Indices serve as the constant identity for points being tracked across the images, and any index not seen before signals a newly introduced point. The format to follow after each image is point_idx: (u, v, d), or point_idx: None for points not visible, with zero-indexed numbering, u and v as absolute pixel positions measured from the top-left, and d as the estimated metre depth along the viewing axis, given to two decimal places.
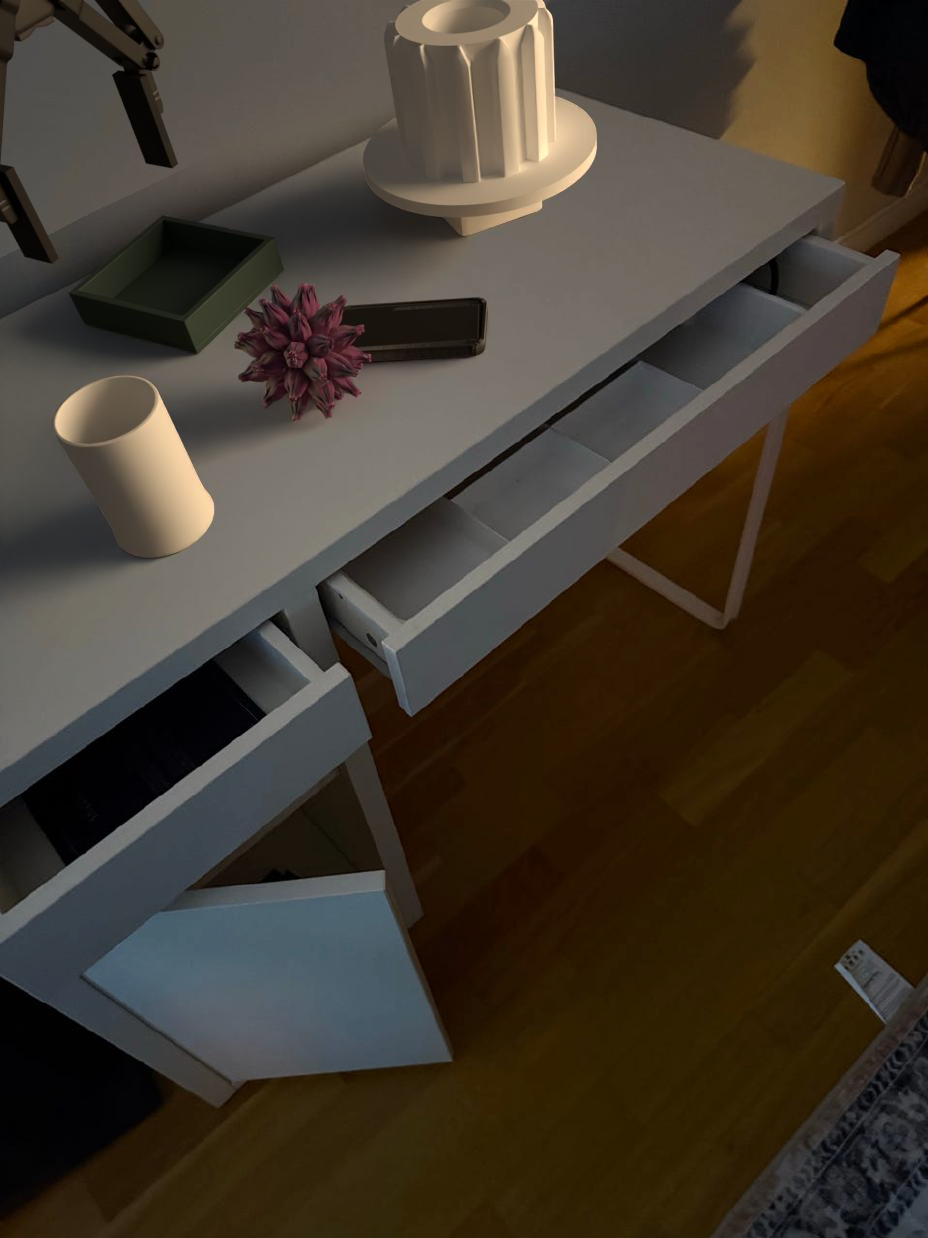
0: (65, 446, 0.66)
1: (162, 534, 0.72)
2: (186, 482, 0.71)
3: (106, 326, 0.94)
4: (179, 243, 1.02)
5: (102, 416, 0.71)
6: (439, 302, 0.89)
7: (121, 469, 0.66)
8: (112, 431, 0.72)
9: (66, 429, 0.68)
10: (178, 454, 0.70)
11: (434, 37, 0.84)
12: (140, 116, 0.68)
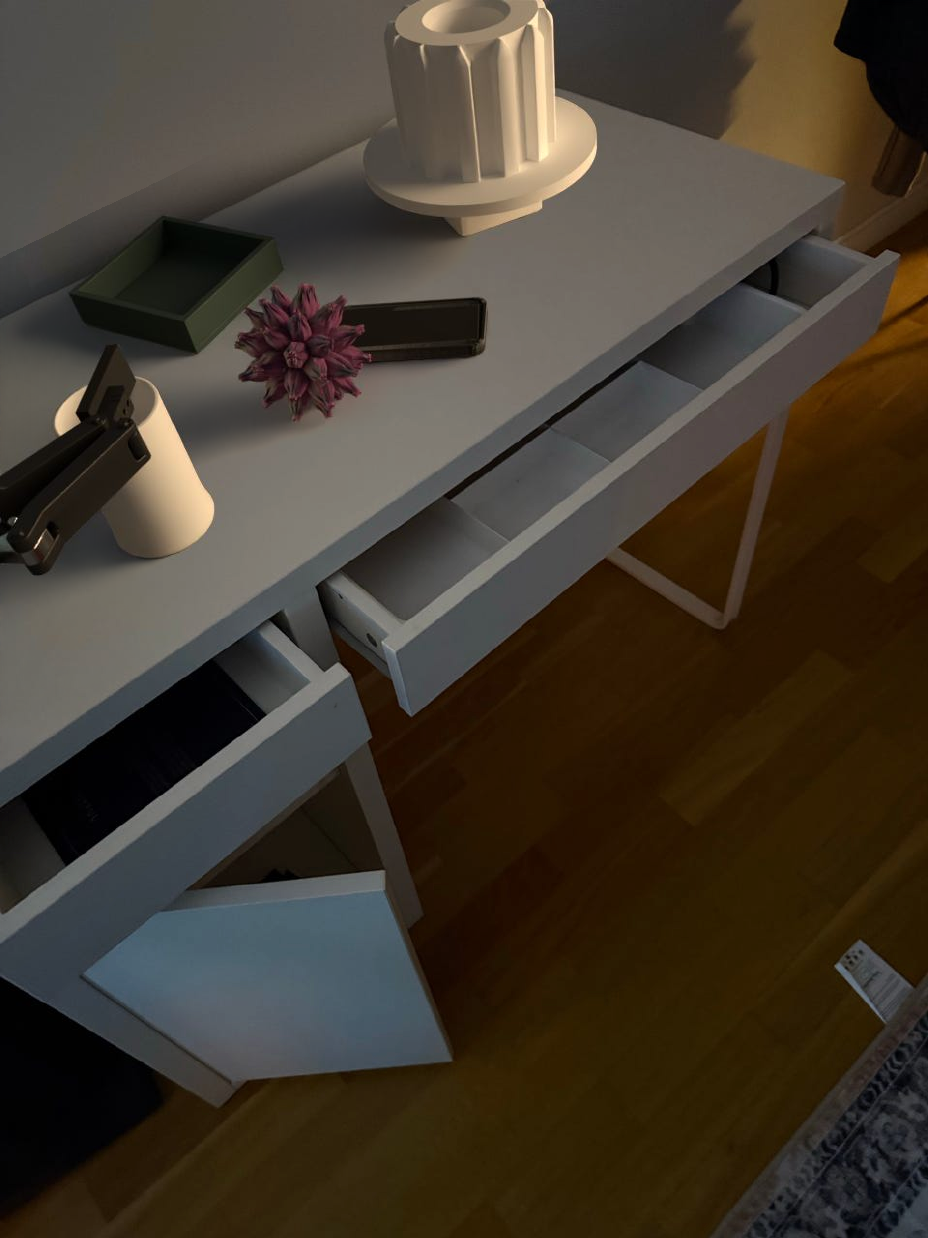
0: None
1: (162, 534, 0.72)
2: (186, 482, 0.71)
3: (106, 326, 0.94)
4: (179, 243, 1.02)
5: None
6: (439, 302, 0.89)
7: None
8: None
9: (66, 429, 0.68)
10: (178, 454, 0.70)
11: (434, 37, 0.84)
12: None
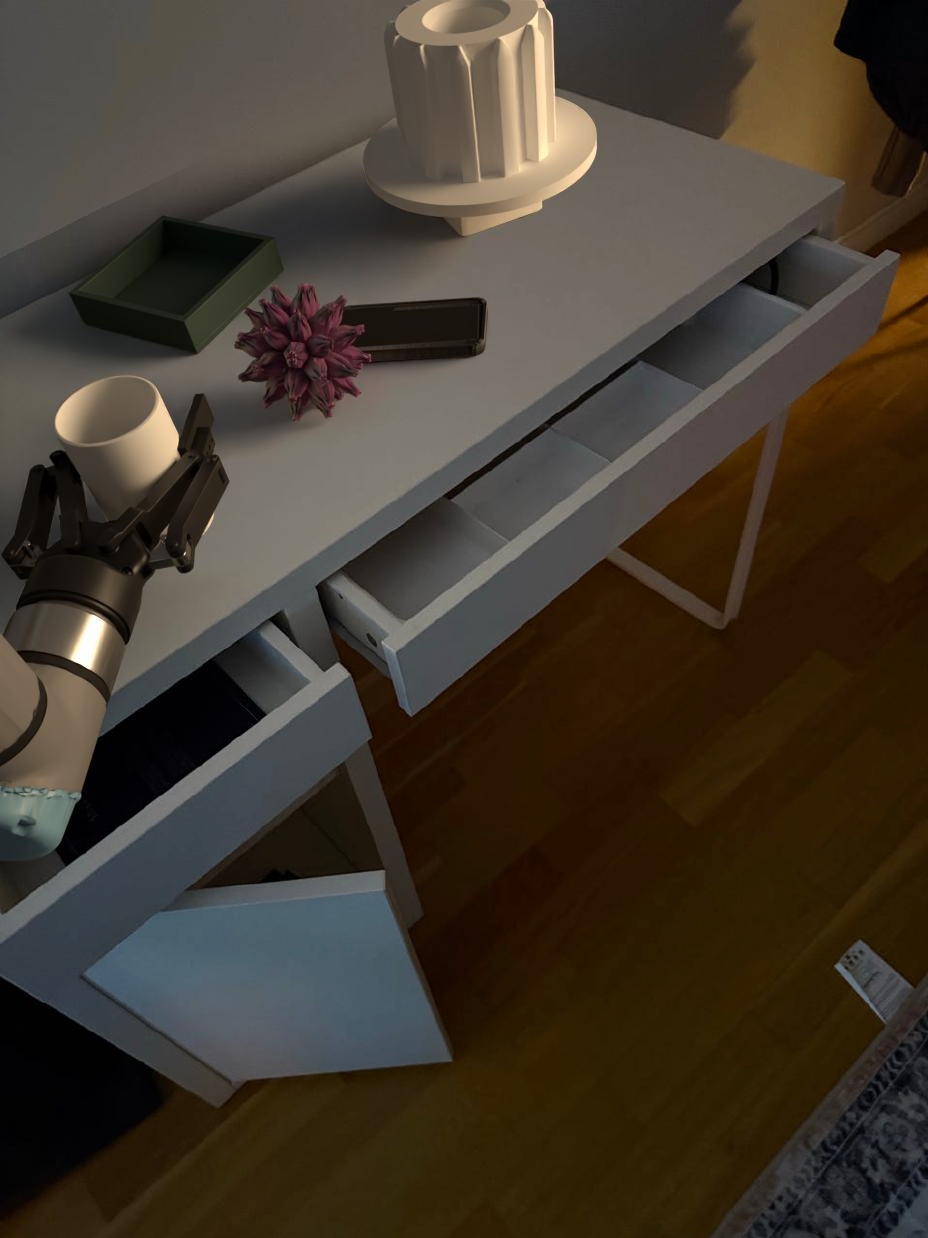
0: (65, 446, 0.66)
1: (162, 534, 0.72)
2: None
3: (106, 326, 0.94)
4: (179, 243, 1.02)
5: (102, 416, 0.71)
6: (439, 302, 0.89)
7: (121, 469, 0.66)
8: (112, 431, 0.72)
9: (66, 429, 0.68)
10: (178, 454, 0.70)
11: (434, 37, 0.84)
12: None
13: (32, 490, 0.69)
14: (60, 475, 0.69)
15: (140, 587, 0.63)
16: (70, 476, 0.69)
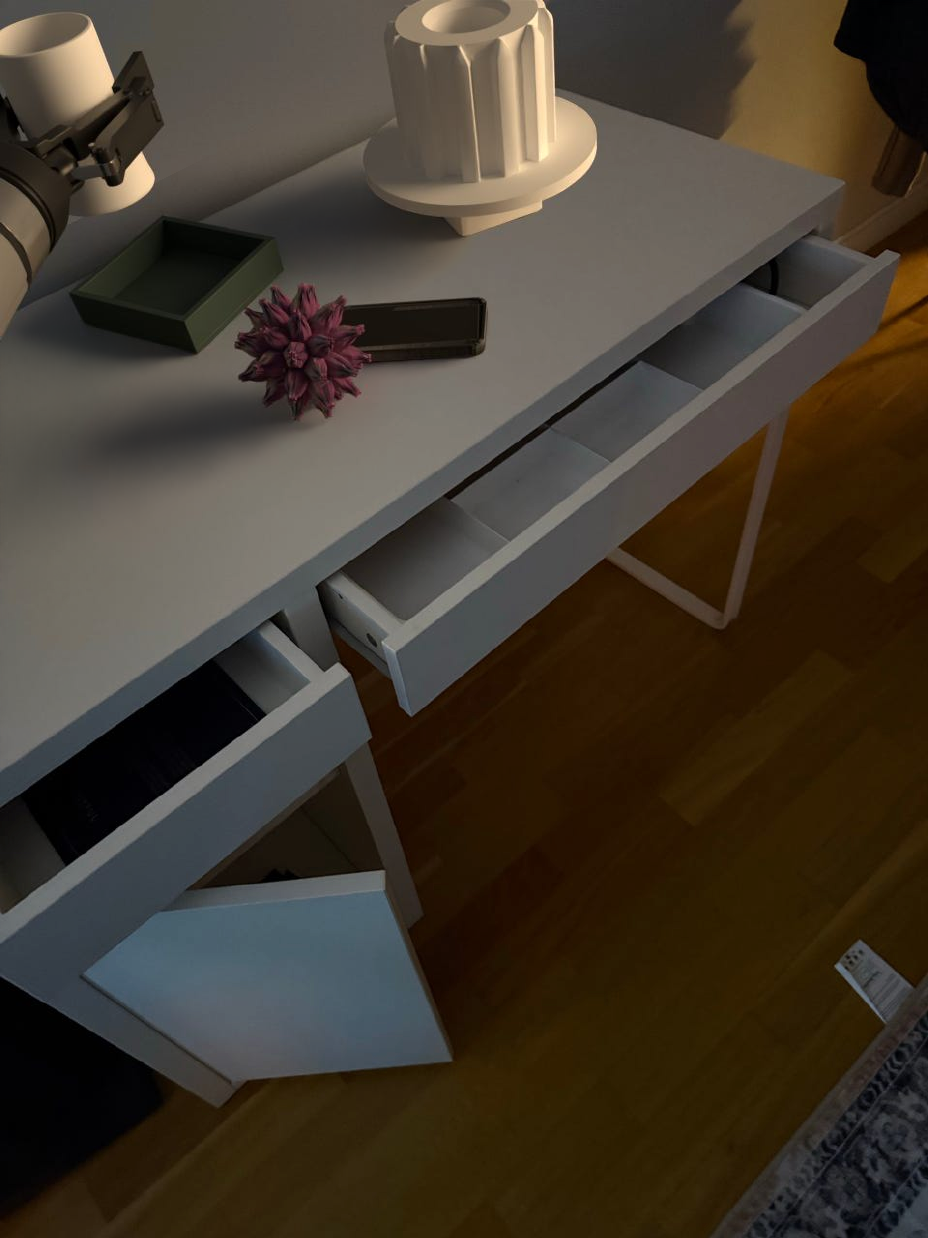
0: None
1: (99, 185, 0.72)
2: None
3: (106, 326, 0.94)
4: (179, 243, 1.02)
5: None
6: (439, 302, 0.89)
7: (53, 90, 0.67)
8: None
9: None
10: (113, 94, 0.70)
11: (434, 37, 0.84)
12: None
13: None
14: None
15: (67, 191, 0.64)
16: (4, 112, 0.69)
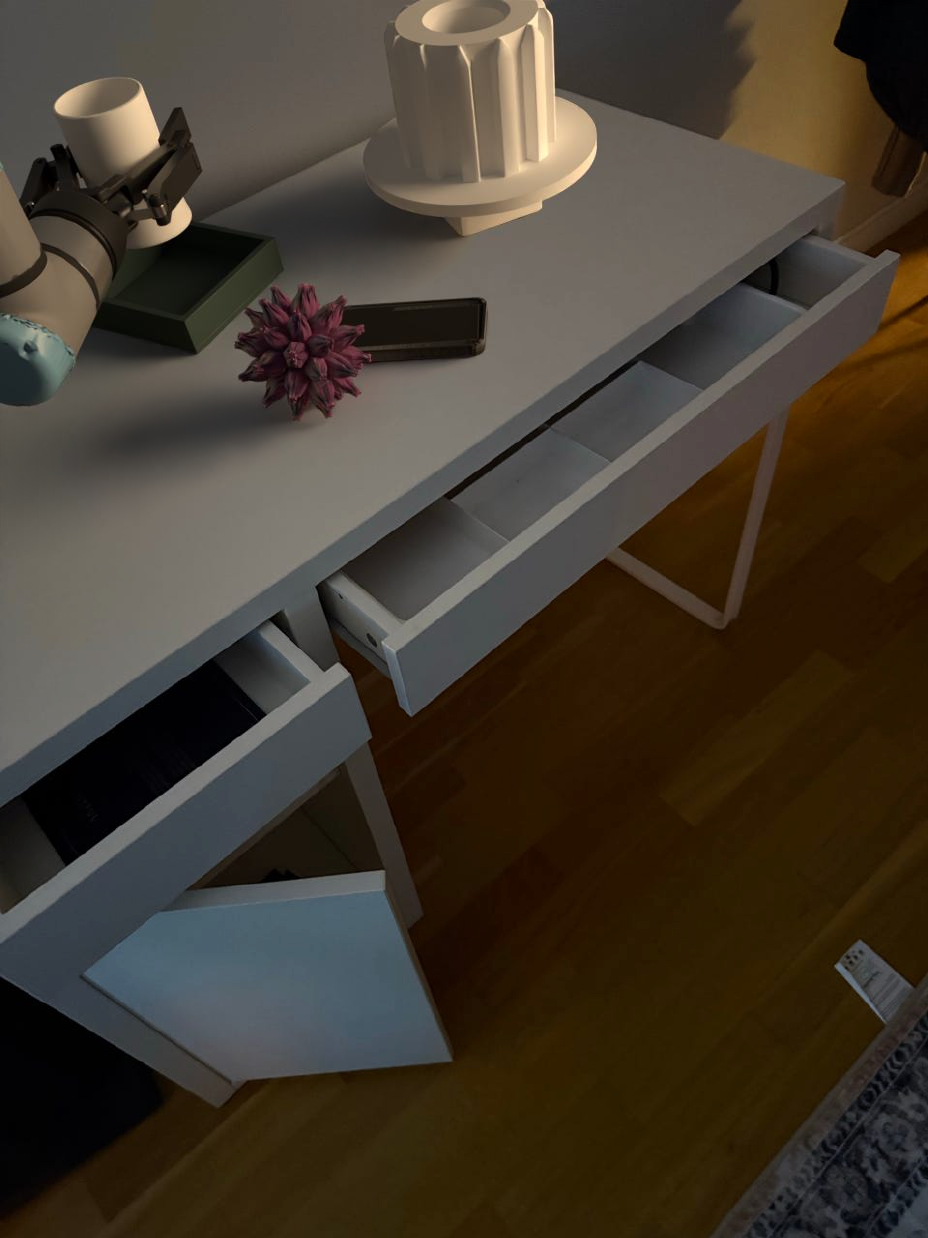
0: (63, 122, 0.78)
1: (146, 222, 0.85)
2: None
3: (106, 326, 0.94)
4: (179, 243, 1.02)
5: None
6: (439, 302, 0.89)
7: (110, 145, 0.79)
8: None
9: None
10: (159, 145, 0.82)
11: (434, 37, 0.84)
12: None
13: (35, 172, 0.81)
14: (59, 162, 0.82)
15: (125, 230, 0.76)
16: (67, 162, 0.82)
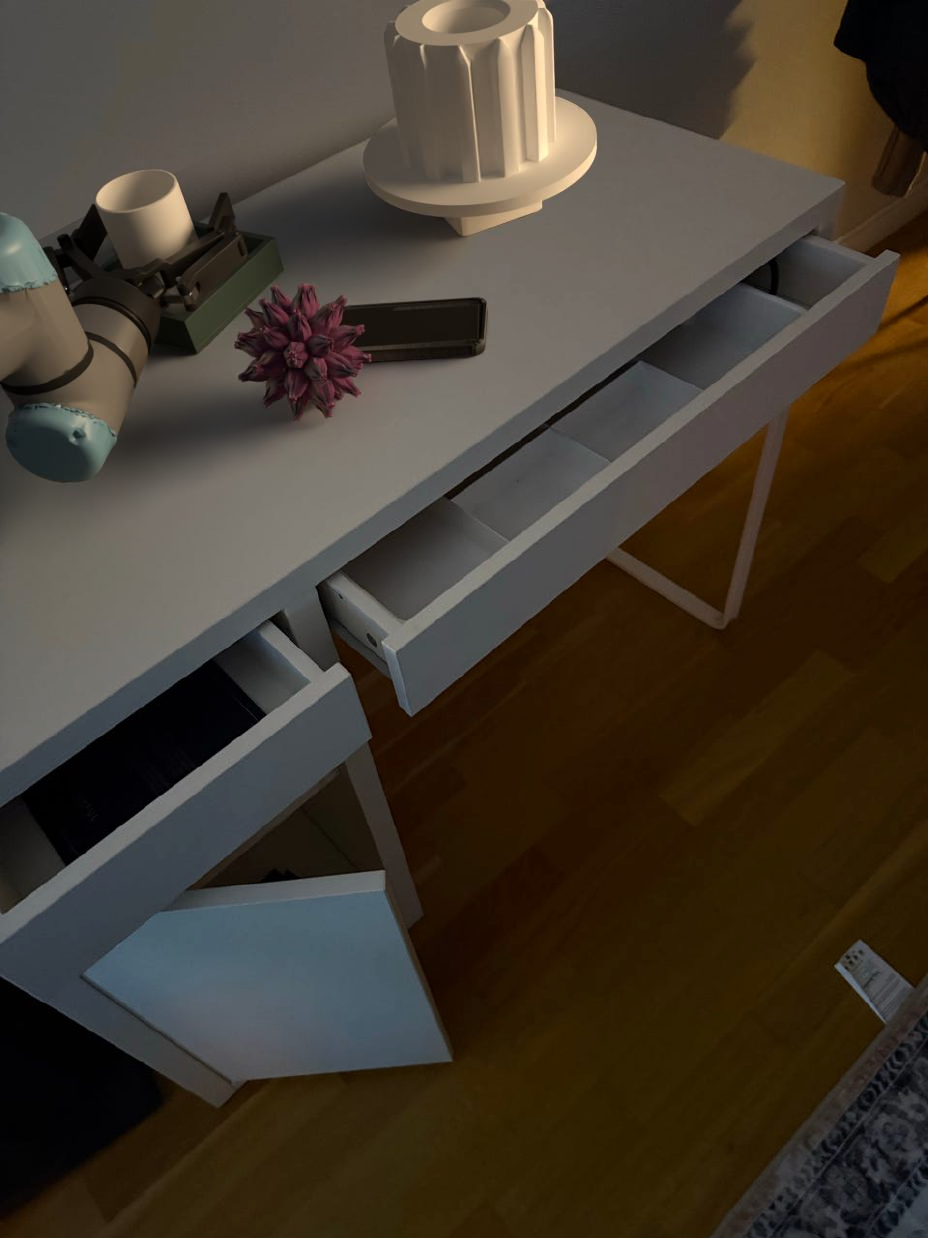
0: (104, 215, 0.85)
1: None
2: None
3: None
4: None
5: (131, 205, 0.90)
6: (439, 302, 0.89)
7: (147, 235, 0.86)
8: None
9: (104, 208, 0.87)
10: (191, 232, 0.89)
11: (434, 37, 0.84)
12: None
13: (50, 260, 0.87)
14: (69, 250, 0.87)
15: (158, 311, 0.82)
16: (79, 249, 0.87)
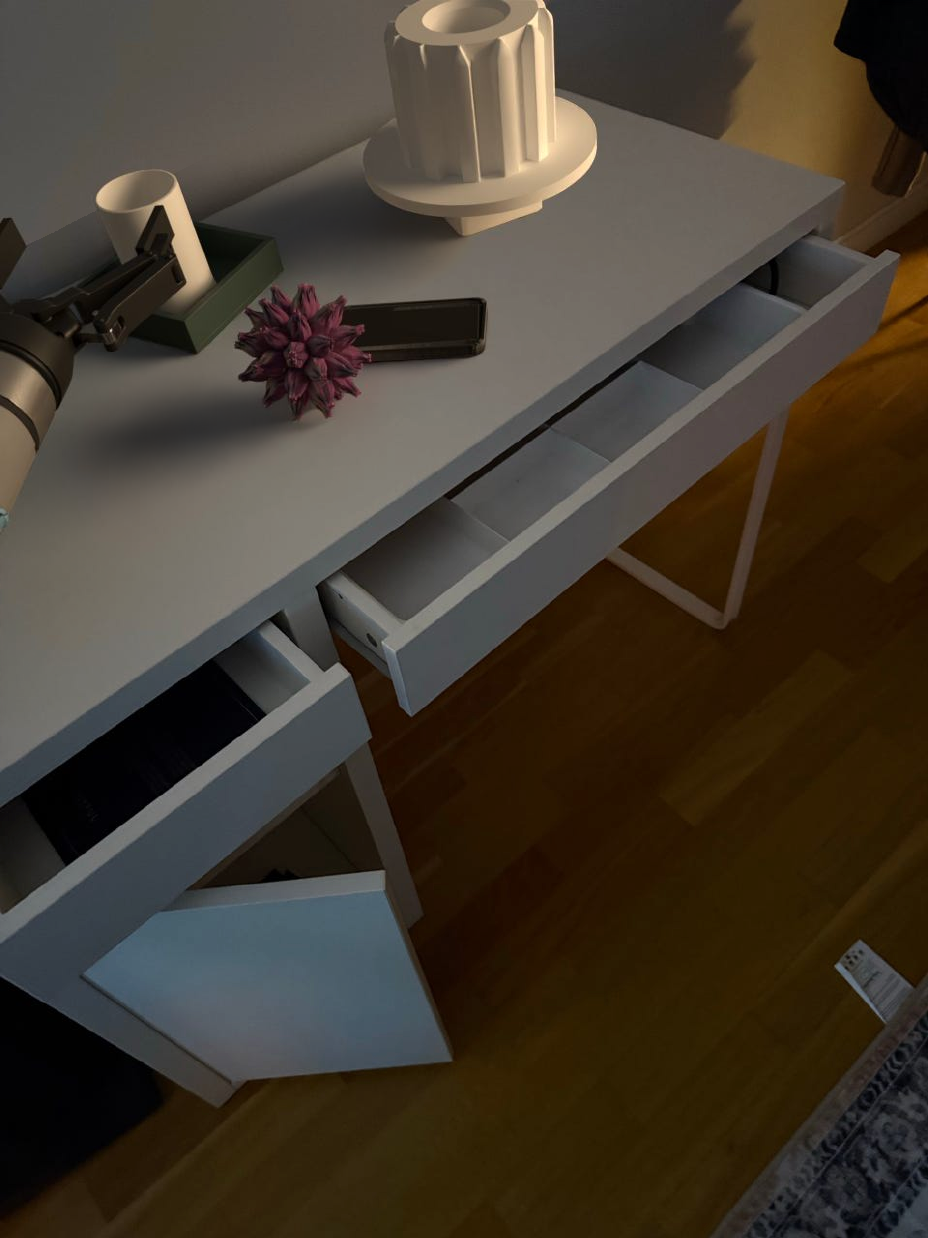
0: (104, 215, 0.85)
1: (178, 301, 0.91)
2: (197, 258, 0.91)
3: None
4: None
5: (131, 205, 0.90)
6: (439, 302, 0.89)
7: None
8: None
9: (104, 208, 0.87)
10: (191, 232, 0.89)
11: (434, 37, 0.84)
12: None
13: None
14: None
15: (71, 353, 0.67)
16: None
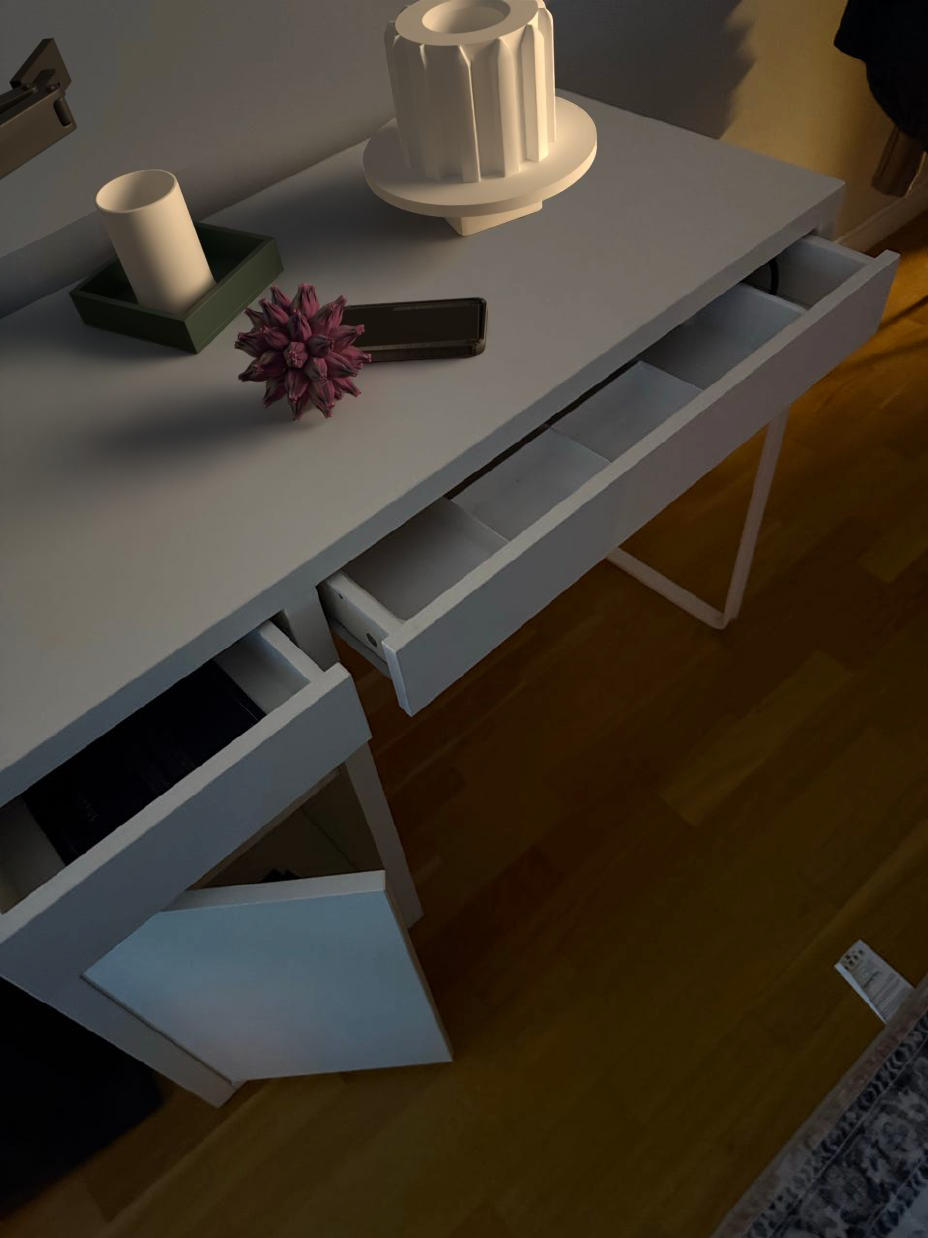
0: (104, 215, 0.85)
1: (178, 301, 0.91)
2: (197, 258, 0.91)
3: (106, 326, 0.94)
4: None
5: (131, 205, 0.90)
6: (439, 302, 0.89)
7: (147, 235, 0.86)
8: None
9: (104, 208, 0.87)
10: (191, 232, 0.89)
11: (434, 37, 0.84)
12: None
13: None
14: None
15: None
16: None
